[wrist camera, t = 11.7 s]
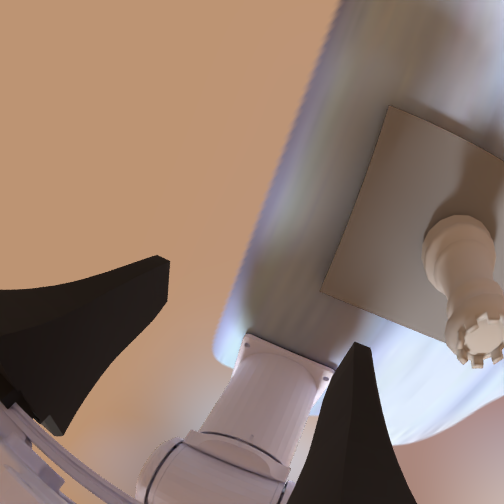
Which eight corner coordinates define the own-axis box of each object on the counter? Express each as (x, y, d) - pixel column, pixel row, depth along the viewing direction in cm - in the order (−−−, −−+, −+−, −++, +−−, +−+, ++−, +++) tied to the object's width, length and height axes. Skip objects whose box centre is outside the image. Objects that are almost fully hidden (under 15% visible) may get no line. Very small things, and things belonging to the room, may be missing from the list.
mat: (478, 347, 18) (480, 356, 18) (322, 283, 21) (319, 291, 20) (566, 204, 12) (573, 210, 11) (388, 105, 15) (389, 105, 14)
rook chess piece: (471, 196, 14) (522, 270, 8) (500, 260, 15) (543, 354, 8) (406, 237, 17) (412, 330, 10) (440, 294, 17) (452, 398, 11)
